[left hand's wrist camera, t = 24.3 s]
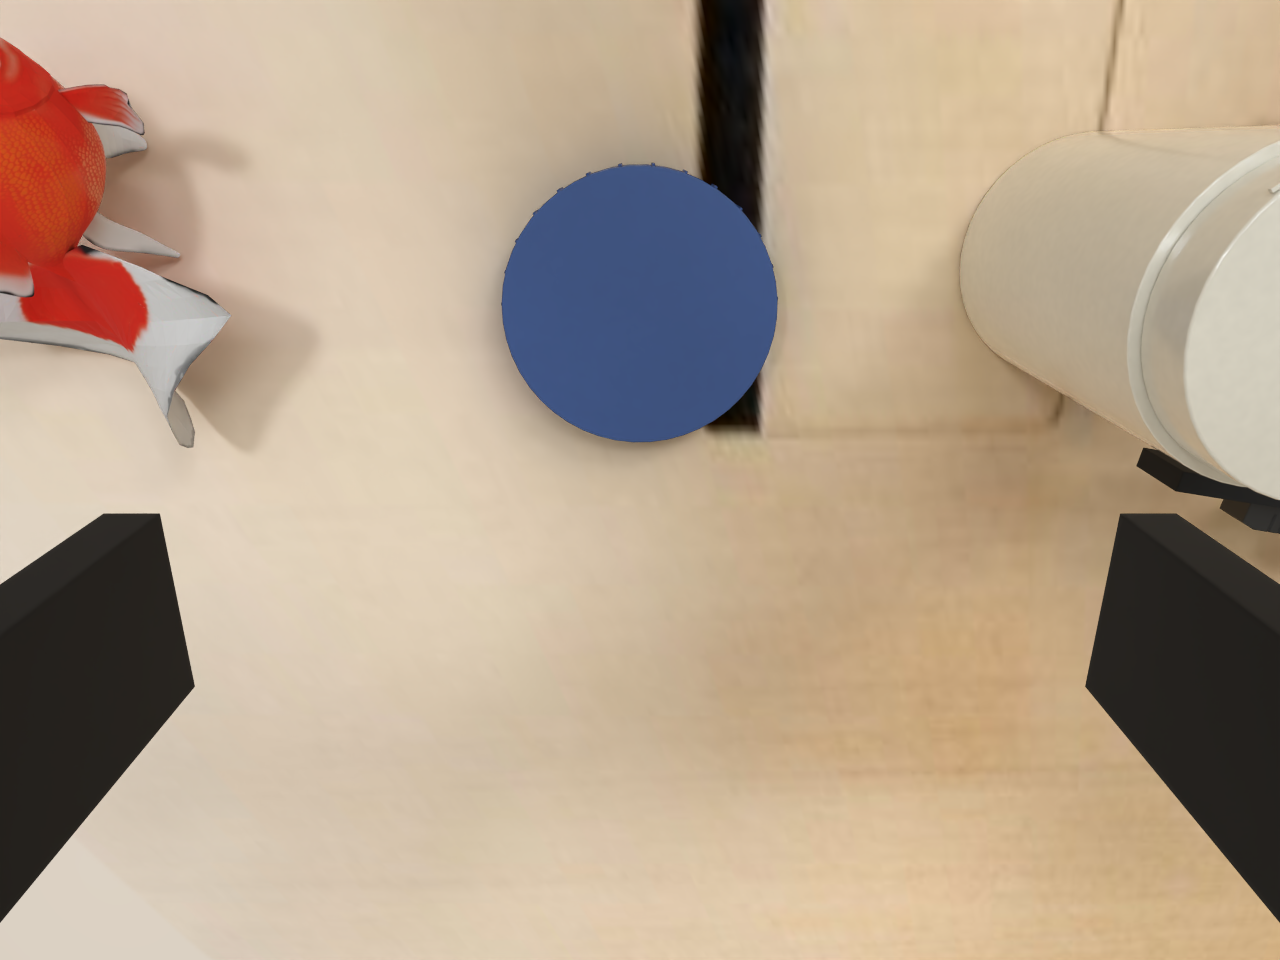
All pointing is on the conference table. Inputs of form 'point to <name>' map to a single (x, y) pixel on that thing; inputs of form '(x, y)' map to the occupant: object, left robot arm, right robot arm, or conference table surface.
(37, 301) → the fish
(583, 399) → the lid
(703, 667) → the conference table surface
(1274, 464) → the jar
